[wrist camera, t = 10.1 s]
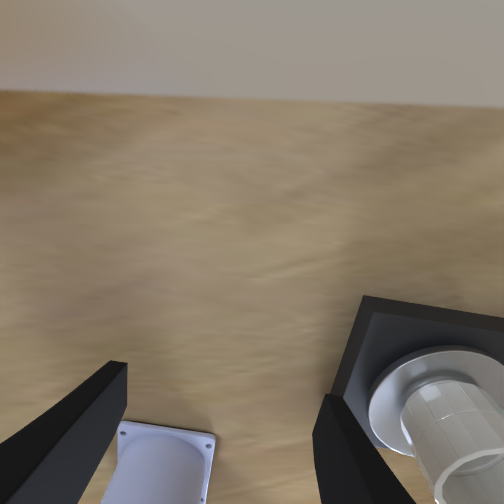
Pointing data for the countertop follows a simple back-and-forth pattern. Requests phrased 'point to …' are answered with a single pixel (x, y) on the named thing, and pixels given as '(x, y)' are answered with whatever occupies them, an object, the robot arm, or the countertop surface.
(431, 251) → the countertop surface
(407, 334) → the scale
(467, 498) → the cup
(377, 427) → the scale pan
